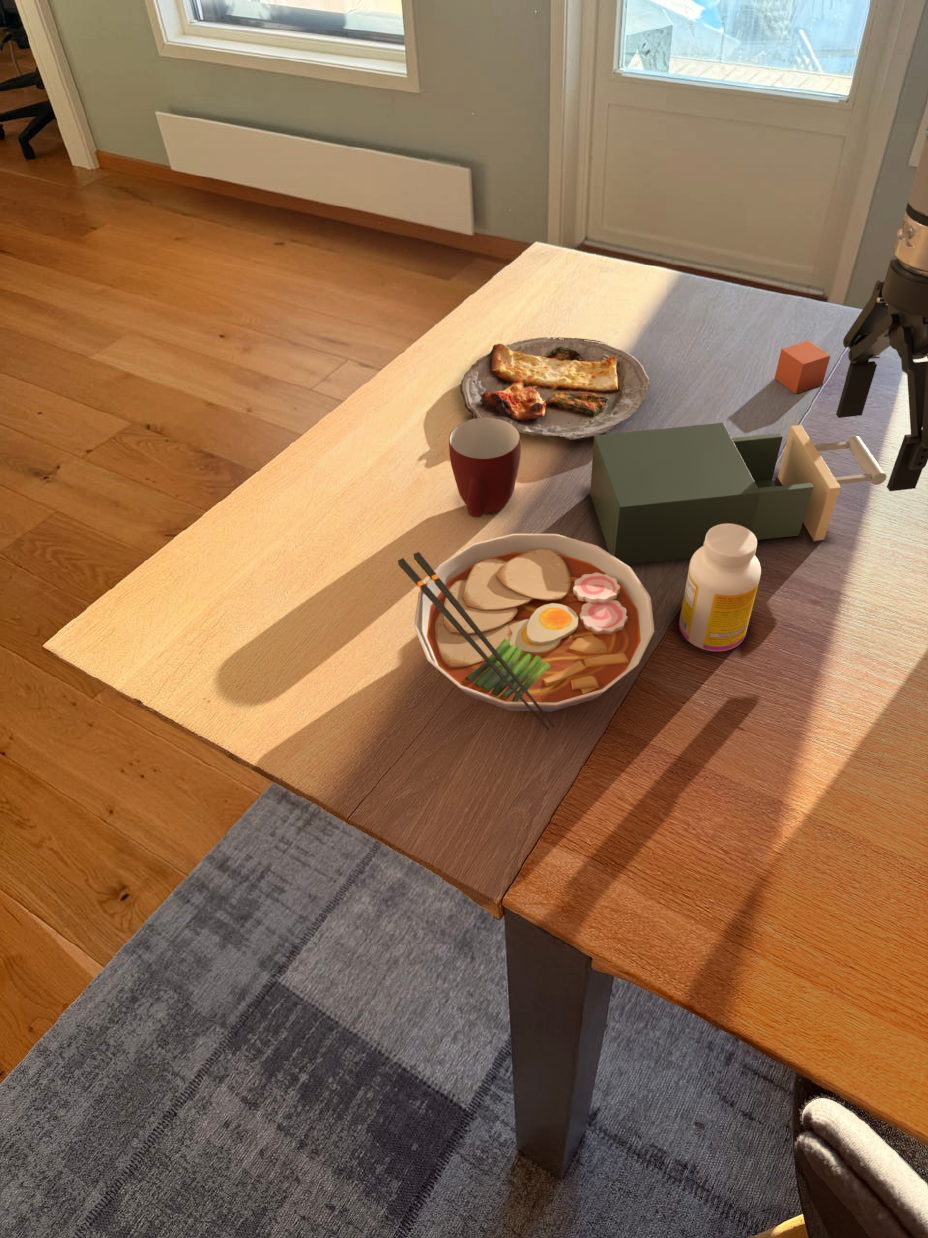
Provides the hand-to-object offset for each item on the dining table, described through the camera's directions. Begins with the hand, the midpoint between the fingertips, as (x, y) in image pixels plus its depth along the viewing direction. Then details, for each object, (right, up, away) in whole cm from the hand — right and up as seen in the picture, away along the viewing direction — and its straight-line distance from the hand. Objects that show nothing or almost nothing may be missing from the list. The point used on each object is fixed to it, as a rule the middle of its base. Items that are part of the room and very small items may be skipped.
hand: (873, 449), depth 99 cm
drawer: (-9, -6, +5) cm, 12 cm away
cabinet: (-22, -8, +5) cm, 24 cm away
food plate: (-33, +12, +25) cm, 43 cm away
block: (+1, +14, +25) cm, 28 cm away
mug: (-42, -6, +9) cm, 44 cm away
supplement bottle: (-20, -20, -6) cm, 29 cm away
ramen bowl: (-38, -23, -8) cm, 45 cm away
